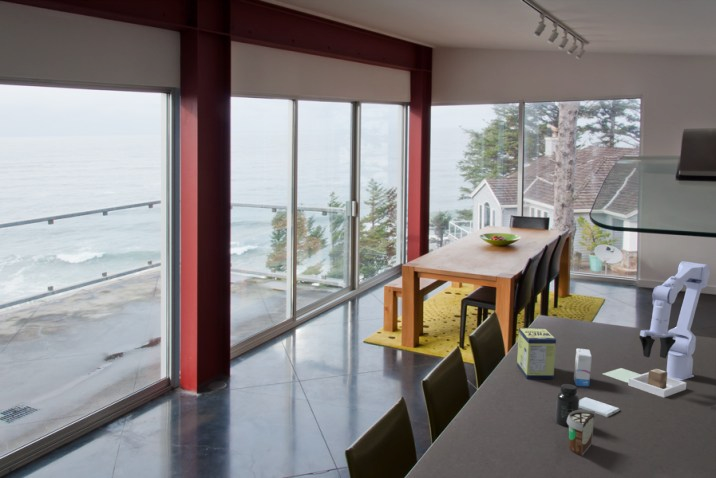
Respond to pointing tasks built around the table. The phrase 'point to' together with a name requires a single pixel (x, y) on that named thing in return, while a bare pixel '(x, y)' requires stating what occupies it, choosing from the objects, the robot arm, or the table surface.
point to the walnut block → (657, 378)
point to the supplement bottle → (566, 403)
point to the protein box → (536, 353)
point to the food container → (580, 430)
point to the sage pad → (621, 374)
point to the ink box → (582, 367)
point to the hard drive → (597, 407)
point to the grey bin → (671, 387)
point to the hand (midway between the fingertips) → (654, 357)
